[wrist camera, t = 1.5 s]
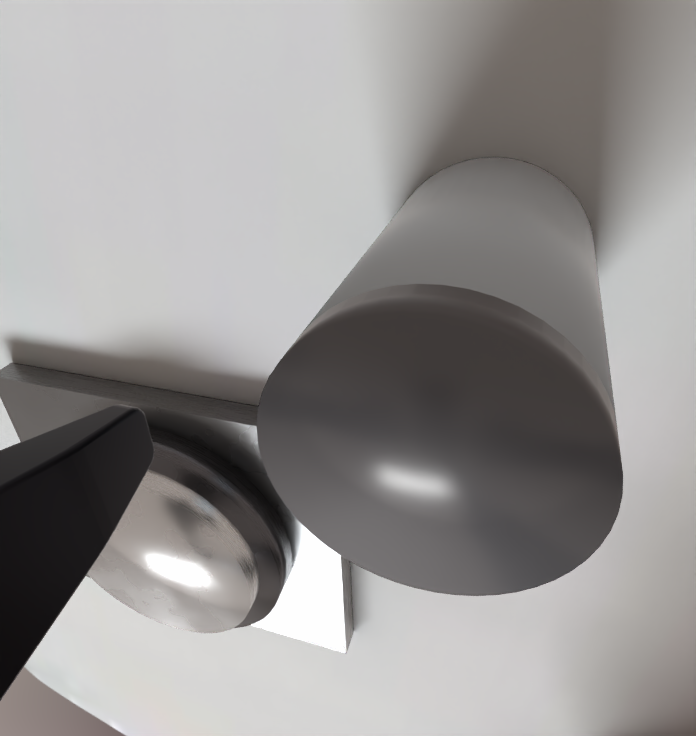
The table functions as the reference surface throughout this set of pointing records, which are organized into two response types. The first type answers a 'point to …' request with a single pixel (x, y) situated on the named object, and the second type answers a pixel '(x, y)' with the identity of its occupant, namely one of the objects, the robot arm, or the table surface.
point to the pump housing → (456, 392)
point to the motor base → (227, 437)
